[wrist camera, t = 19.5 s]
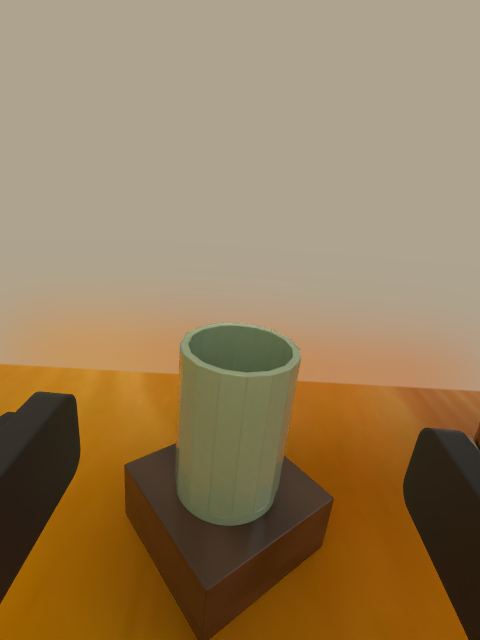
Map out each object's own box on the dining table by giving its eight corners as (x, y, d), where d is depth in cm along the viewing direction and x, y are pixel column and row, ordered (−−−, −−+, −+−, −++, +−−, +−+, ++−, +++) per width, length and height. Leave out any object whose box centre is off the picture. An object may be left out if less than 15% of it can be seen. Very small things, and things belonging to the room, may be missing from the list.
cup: (235, 435, 26) (248, 316, 23) (297, 492, 22) (325, 356, 18) (157, 470, 22) (159, 334, 19) (214, 547, 18) (230, 390, 15)
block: (234, 458, 30) (239, 416, 28) (322, 545, 23) (334, 497, 22) (125, 512, 24) (124, 464, 23) (201, 645, 18) (206, 591, 16)
